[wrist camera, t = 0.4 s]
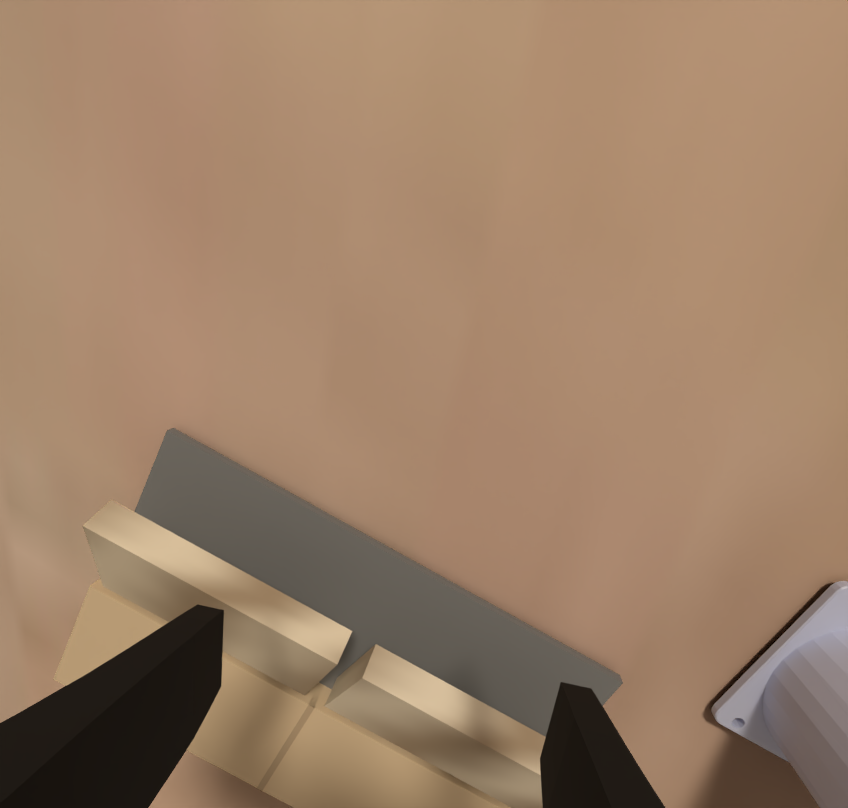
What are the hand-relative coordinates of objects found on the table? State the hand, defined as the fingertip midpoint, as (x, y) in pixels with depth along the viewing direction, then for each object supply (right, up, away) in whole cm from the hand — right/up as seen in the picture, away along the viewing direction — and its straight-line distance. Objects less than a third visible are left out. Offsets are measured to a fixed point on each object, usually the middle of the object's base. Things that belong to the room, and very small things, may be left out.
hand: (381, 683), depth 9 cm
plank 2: (+2, -7, +9) cm, 12 cm away
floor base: (-3, -6, +12) cm, 14 cm away
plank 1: (-7, -2, +9) cm, 12 cm away
